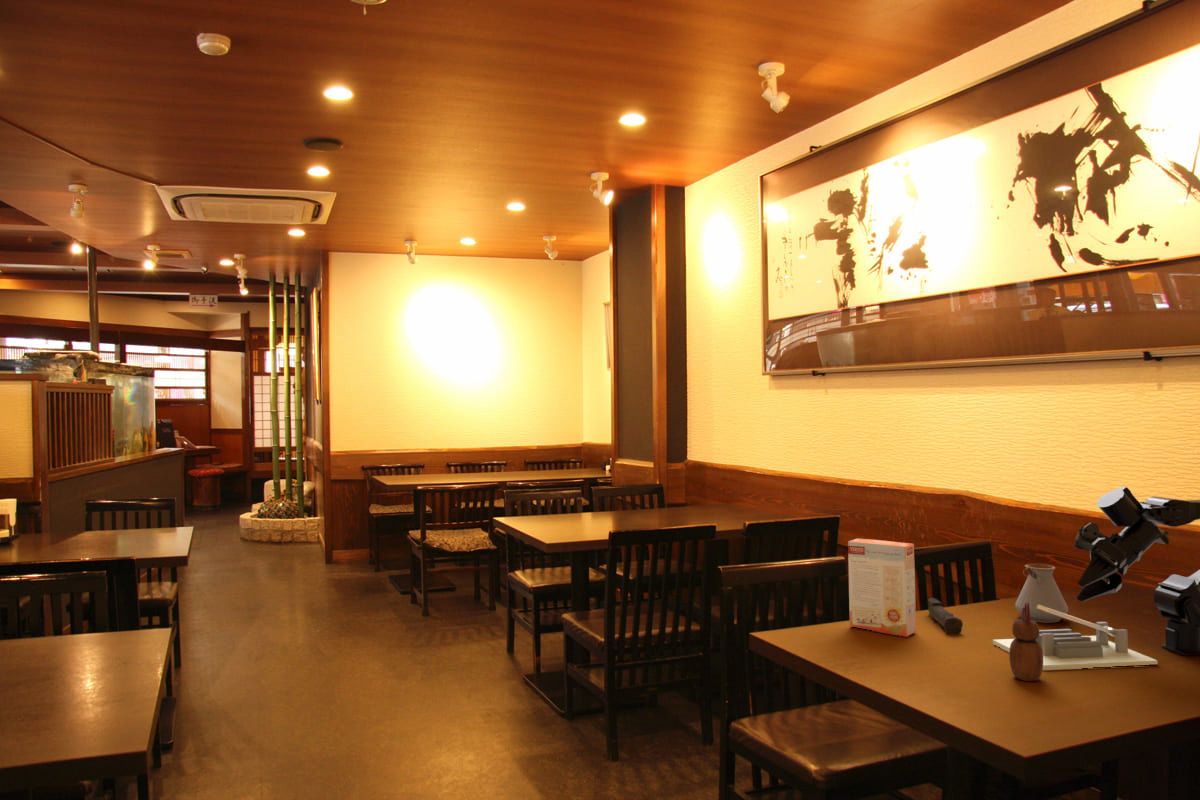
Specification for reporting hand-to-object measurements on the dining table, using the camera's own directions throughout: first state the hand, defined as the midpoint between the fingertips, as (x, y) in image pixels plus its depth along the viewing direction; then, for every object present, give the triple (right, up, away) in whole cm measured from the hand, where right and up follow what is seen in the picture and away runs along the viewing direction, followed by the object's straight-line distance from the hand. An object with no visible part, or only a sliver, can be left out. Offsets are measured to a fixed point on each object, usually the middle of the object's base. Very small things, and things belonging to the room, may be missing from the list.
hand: (1079, 593), depth 172 cm
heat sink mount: (-2, -13, 0) cm, 13 cm away
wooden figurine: (-18, -13, -14) cm, 27 cm away
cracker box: (-34, -14, +21) cm, 42 cm away
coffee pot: (+5, -13, +25) cm, 28 cm away
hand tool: (-19, -14, +26) cm, 35 cm away
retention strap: (0, -7, 0) cm, 7 cm away
